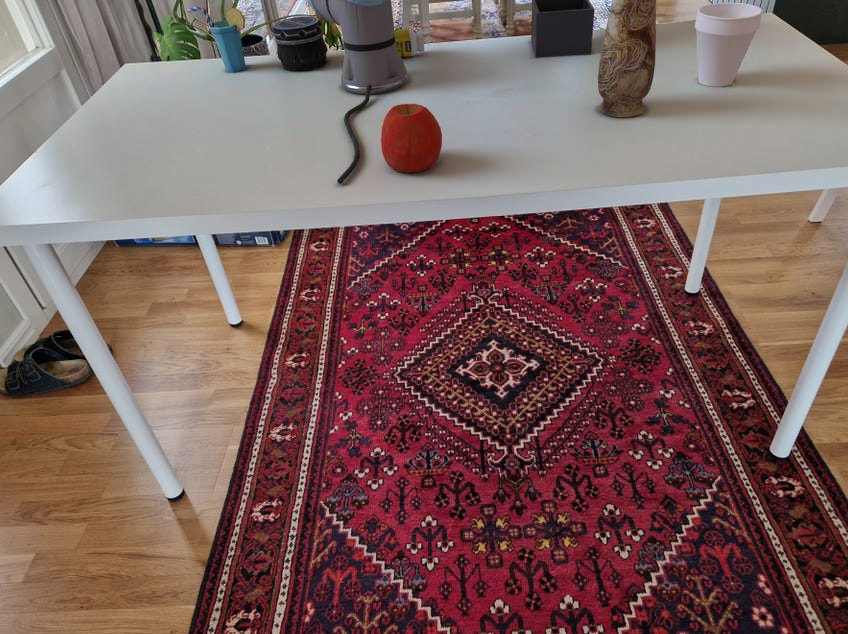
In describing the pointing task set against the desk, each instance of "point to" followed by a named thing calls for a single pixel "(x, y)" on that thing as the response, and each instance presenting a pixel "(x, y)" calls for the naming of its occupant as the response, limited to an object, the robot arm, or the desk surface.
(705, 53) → the flower pot
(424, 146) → the apple
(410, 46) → the pill bottle
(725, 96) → the desk surface
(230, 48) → the cup
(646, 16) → the vase
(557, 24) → the bin
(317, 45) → the container
